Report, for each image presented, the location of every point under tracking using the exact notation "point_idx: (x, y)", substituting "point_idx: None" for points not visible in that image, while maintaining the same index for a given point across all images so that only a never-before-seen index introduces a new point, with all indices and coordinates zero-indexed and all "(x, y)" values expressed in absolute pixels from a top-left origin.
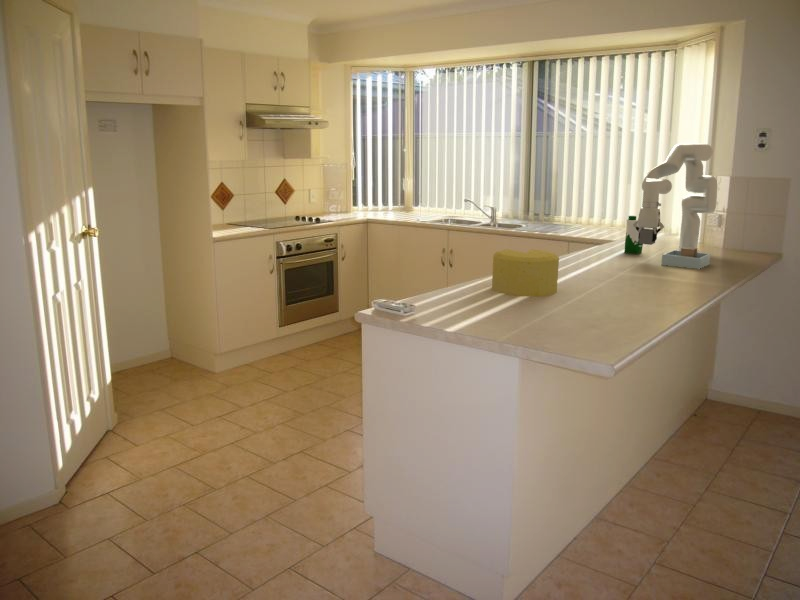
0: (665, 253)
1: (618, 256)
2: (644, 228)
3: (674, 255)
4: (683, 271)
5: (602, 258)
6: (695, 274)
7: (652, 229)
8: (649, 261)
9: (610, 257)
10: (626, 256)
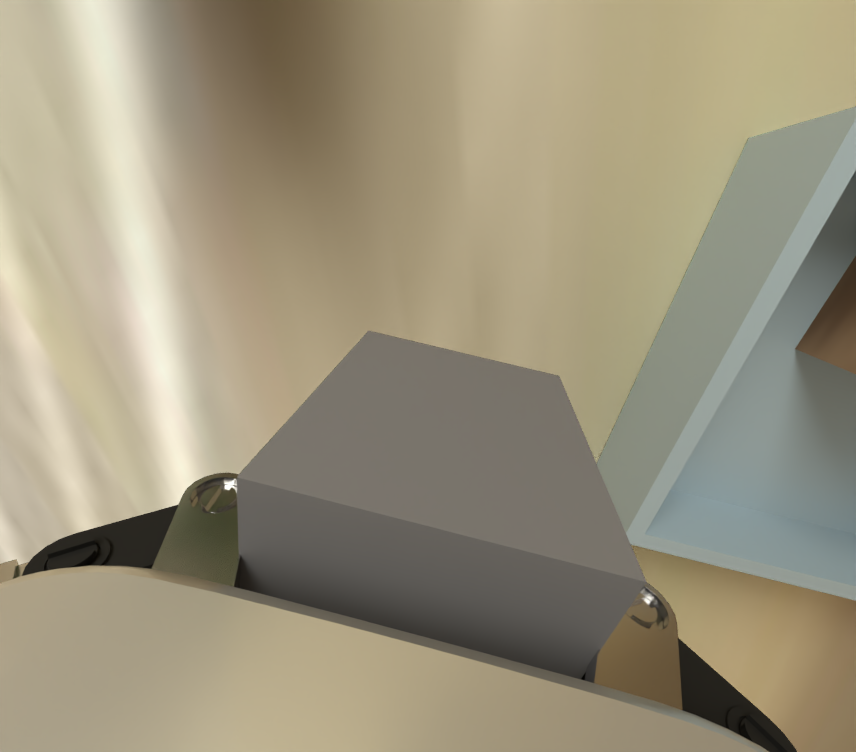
0: (662, 482)
1: (182, 194)
2: (247, 486)
3: (743, 563)
4: (725, 640)
5: (136, 384)
6: (784, 696)
7: (519, 612)
8: (492, 348)
9: (156, 300)
10: (242, 141)
